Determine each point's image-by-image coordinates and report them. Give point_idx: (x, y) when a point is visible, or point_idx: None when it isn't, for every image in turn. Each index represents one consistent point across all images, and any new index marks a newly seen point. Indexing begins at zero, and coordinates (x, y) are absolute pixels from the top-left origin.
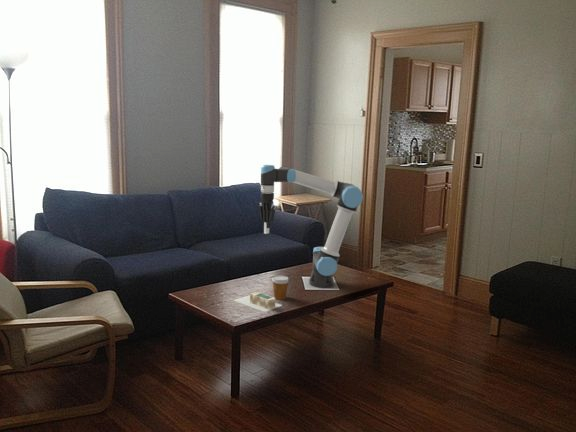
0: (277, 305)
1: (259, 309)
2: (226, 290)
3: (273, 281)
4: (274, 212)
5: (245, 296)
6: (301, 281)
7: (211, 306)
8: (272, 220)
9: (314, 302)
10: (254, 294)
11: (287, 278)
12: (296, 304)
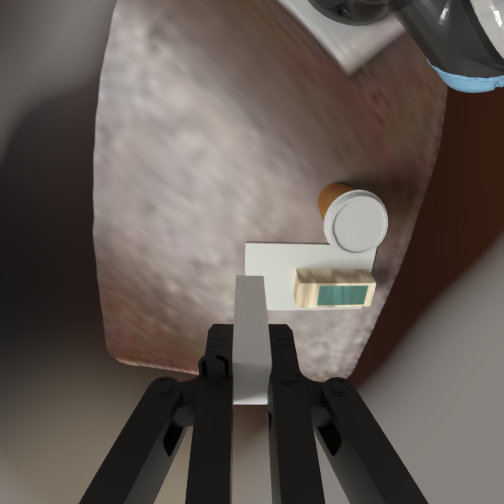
0: (366, 257)
1: (343, 307)
2: (159, 263)
3: (344, 253)
4: (418, 496)
5: (246, 267)
6: (275, 4)
7: None
8: (351, 396)
9: (429, 161)
10: (310, 303)
11: (384, 214)
12: (400, 209)
